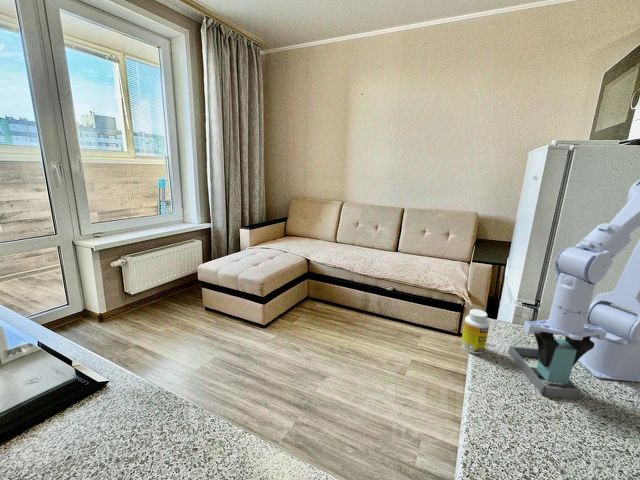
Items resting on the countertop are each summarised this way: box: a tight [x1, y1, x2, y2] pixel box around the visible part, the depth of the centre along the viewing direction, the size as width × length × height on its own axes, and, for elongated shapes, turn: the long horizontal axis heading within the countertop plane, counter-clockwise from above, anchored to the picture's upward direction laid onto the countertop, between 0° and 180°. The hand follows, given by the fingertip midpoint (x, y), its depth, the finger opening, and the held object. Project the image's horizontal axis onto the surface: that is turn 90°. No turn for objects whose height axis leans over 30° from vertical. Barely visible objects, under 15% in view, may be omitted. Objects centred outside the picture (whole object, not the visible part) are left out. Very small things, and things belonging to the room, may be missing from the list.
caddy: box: [508, 345, 582, 400], centre depth 69 cm, size 7×14×2 cm, turn 174°
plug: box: [536, 338, 577, 385], centre depth 65 cm, size 4×4×8 cm
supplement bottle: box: [460, 308, 490, 355], centre depth 77 cm, size 6×6×10 cm
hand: (555, 364), depth 65 cm, fingers closed on plug, 4 cm apart
